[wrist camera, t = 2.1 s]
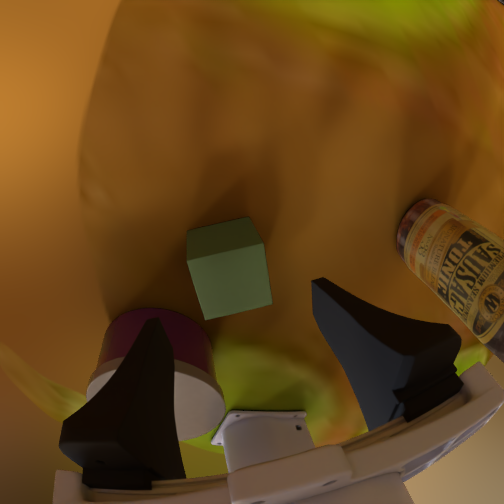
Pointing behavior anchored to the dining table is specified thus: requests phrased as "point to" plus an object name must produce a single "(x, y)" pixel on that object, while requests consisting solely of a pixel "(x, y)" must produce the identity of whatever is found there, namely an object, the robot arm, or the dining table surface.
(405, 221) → the sauce bottle
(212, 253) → the block
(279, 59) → the dining table surface
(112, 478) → the robot arm
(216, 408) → the jar
